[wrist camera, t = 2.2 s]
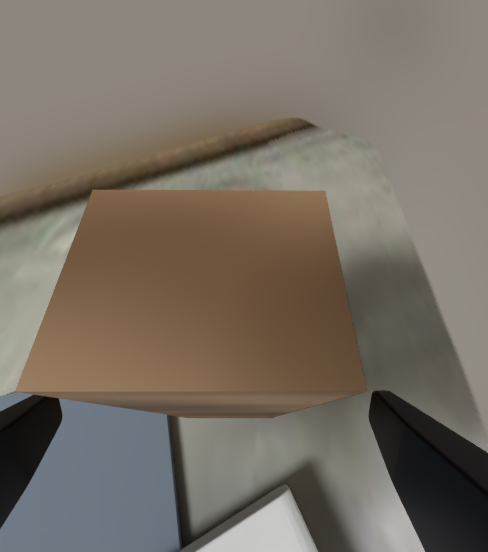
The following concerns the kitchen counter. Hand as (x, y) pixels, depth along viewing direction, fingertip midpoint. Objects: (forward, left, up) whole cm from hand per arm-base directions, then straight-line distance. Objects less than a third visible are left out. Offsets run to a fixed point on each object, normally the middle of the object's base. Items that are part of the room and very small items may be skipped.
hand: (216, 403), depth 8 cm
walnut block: (+2, 0, -10) cm, 10 cm away
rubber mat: (-1, +9, -10) cm, 13 cm away
